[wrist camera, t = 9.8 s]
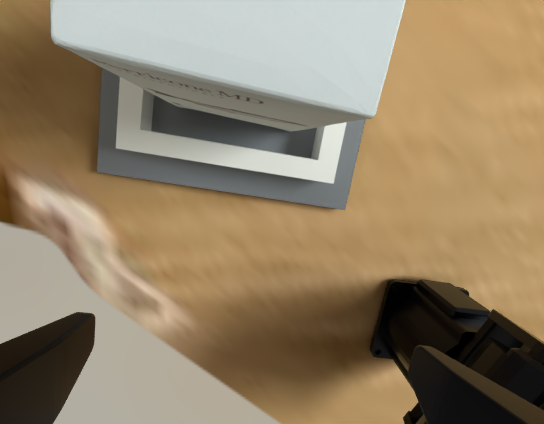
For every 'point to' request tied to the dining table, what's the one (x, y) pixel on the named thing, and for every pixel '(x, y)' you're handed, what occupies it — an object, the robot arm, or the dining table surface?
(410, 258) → the dining table surface
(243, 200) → the dining table surface
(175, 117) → the dock
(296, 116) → the supplement box
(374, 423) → the dining table surface
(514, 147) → the dining table surface
